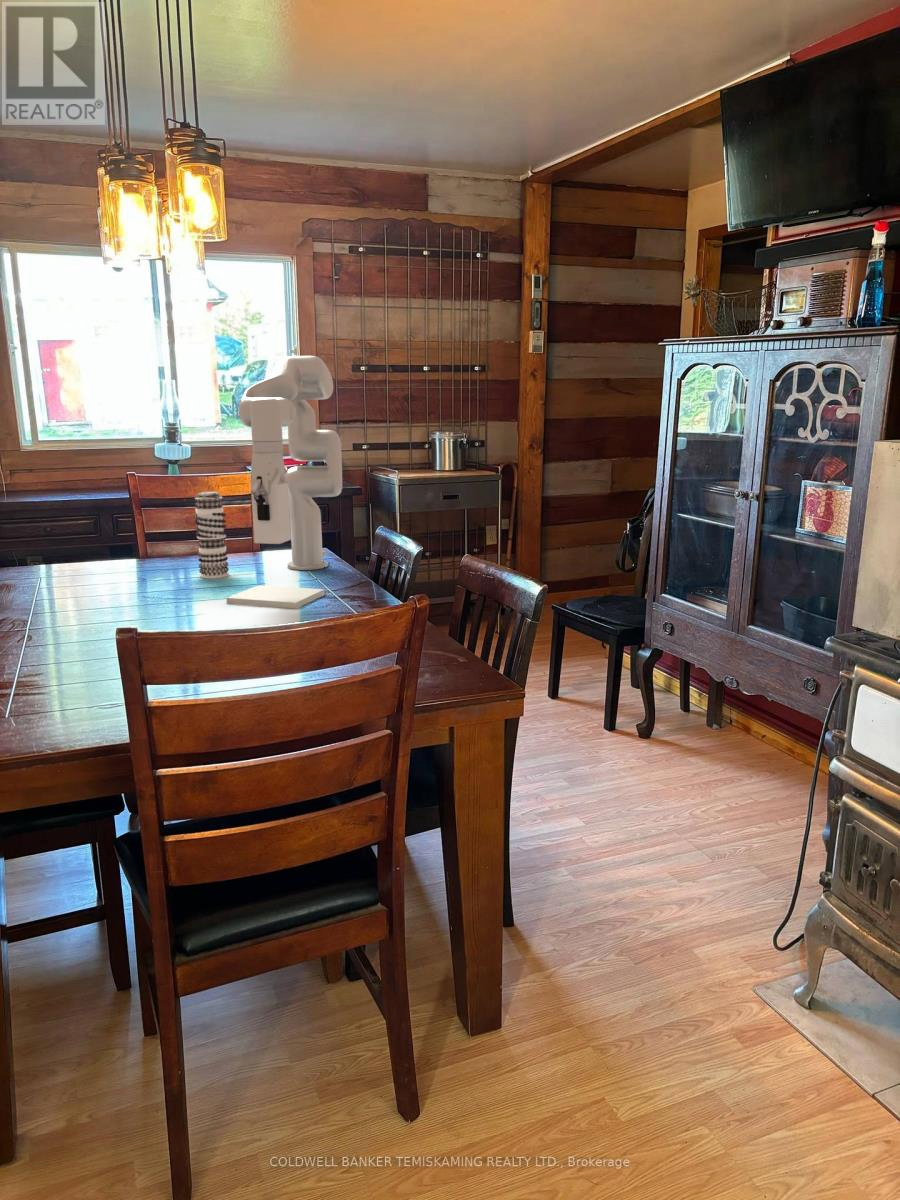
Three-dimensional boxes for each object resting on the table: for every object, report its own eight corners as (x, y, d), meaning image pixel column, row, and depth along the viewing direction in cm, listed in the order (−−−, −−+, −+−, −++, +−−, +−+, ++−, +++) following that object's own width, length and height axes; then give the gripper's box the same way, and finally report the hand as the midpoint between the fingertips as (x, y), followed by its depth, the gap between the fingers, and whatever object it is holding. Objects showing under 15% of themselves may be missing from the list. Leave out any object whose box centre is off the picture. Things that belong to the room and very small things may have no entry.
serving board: (258, 590, 226) (258, 585, 226) (324, 594, 220) (324, 589, 220) (226, 603, 211) (226, 597, 211) (296, 608, 205) (295, 602, 205)
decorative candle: (229, 571, 253) (223, 490, 247) (231, 577, 244) (225, 493, 239) (198, 573, 250) (191, 491, 245) (199, 579, 242) (192, 494, 236)
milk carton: (280, 544, 208) (276, 469, 204) (254, 543, 210) (249, 468, 205) (291, 540, 215) (287, 467, 211) (265, 539, 216) (261, 467, 212)
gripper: (272, 446, 216) (275, 513, 220) (236, 450, 200) (240, 522, 204) (297, 446, 214) (300, 514, 218) (263, 450, 198) (267, 523, 202)
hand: (271, 517), depth 211 cm, fingers closed on milk carton, 7 cm apart
